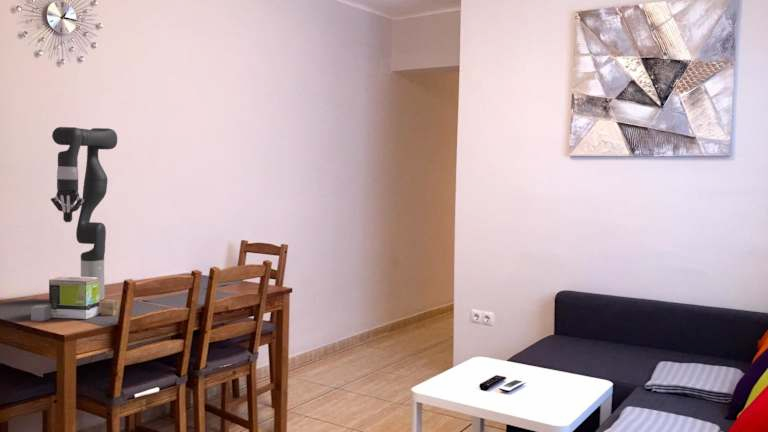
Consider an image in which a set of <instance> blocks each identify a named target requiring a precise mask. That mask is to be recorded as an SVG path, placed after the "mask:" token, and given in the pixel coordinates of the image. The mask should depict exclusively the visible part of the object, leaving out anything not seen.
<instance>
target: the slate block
mask: <svg viewBox="0 0 768 432" xmlns="http://www.w3.org/2000/svg"><path fill="white" fill-rule="evenodd" d="M52 318H53V317H52V305H49V304H40V303H39V304H36V305H34V306H30V321H35V322H36V321H37V322H38V321H39V322H45V321H47V320H50V319H52Z"/></svg>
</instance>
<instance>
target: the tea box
mask: <svg viewBox="0 0 768 432" xmlns="http://www.w3.org/2000/svg"><path fill="white" fill-rule="evenodd" d="M48 299H49V302H48V305H52V318H54V319H55V318H56V319H57V318H58V319H60V318H61V319H75V320H76V319H79V320H88V319H90V318H93V317H95V316H98V315H100V307H101V301H100V300H99V277H81V276H73V275H71V276H70V275H62V276H59V277H54V278H52V279H51V278H50V279H49V280H48Z"/></svg>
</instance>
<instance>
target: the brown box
mask: <svg viewBox="0 0 768 432" xmlns="http://www.w3.org/2000/svg"><path fill="white" fill-rule="evenodd" d="M119 313H120V300H118V299H105V300H104V301H100V315H101V316H115V315H117V314H119Z"/></svg>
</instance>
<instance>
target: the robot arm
mask: <svg viewBox="0 0 768 432" xmlns="http://www.w3.org/2000/svg"><path fill="white" fill-rule="evenodd" d="M117 134H118V133H116V131H115V130H114V129H112V128H108V127H107V128H103V127H102V128H101V127H100V128H99V127H93V128H91V129H88V128H87V129H86V128H78V127H75V126H73V127H72V126H70V127H68V126H59V127H56V128H55V129H54V130H53V131H52V134H51V137H52V140H53V142H54V143H55V144H57V145H60V146H69V147H68V149H66V150H62V151H59V152H58V153H57V169H56V190H57V192H56V195H55V196H54V197H51V198H50V201H51V202H52V203H53V205H54V207H56V209H57V210H58V212H62V213H63V216H62V217H63V218H62V219H63V222H64V223H71V222H72V221H73V212H77V211H78V209H80V211H79V216H78V221H77V226H76V233H75V235H76V236H75V237H76V241H77V242H78V243H79V244H83V245H84V244H85V245H87V244H88V245H93V248H91V249H90V250H88V251H83V252H82V253H81V254H80V277H99V301H102V300H104V299H105V253H106V238H107V237H106V236H107V231H106V230H107V229H106V225H105V224H104V223H102V222H97V221H95V222H94V221H93V222H90V220H91V217H92V214H93V213H94V210H95V209H96V208H97V207H98V205H99V204H100V203H101V202H102V200H103V199H104V198H105V196H106V194H107V190H108V189H107V188H108V176H107V174H106V171H105V170H104V168H103V166H102V164H101V163H100V159H99V150H112V149H114V148H116V146H117V144H118V135H117ZM81 147H87V148H86V164H85V165H86V166H85V173H84V178H83V179H84V180H83V189H82V198H81V196H80V193H79V169H78V165H79V164H78V163H79V162H78V157H79V152H80V149H81Z"/></svg>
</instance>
